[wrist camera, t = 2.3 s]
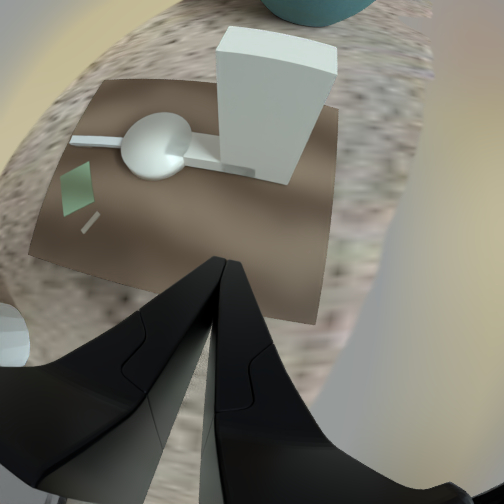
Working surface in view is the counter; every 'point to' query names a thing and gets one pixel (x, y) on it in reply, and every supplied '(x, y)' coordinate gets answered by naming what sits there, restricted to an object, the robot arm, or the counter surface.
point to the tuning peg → (240, 112)
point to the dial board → (188, 206)
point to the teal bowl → (316, 10)
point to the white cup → (13, 337)
